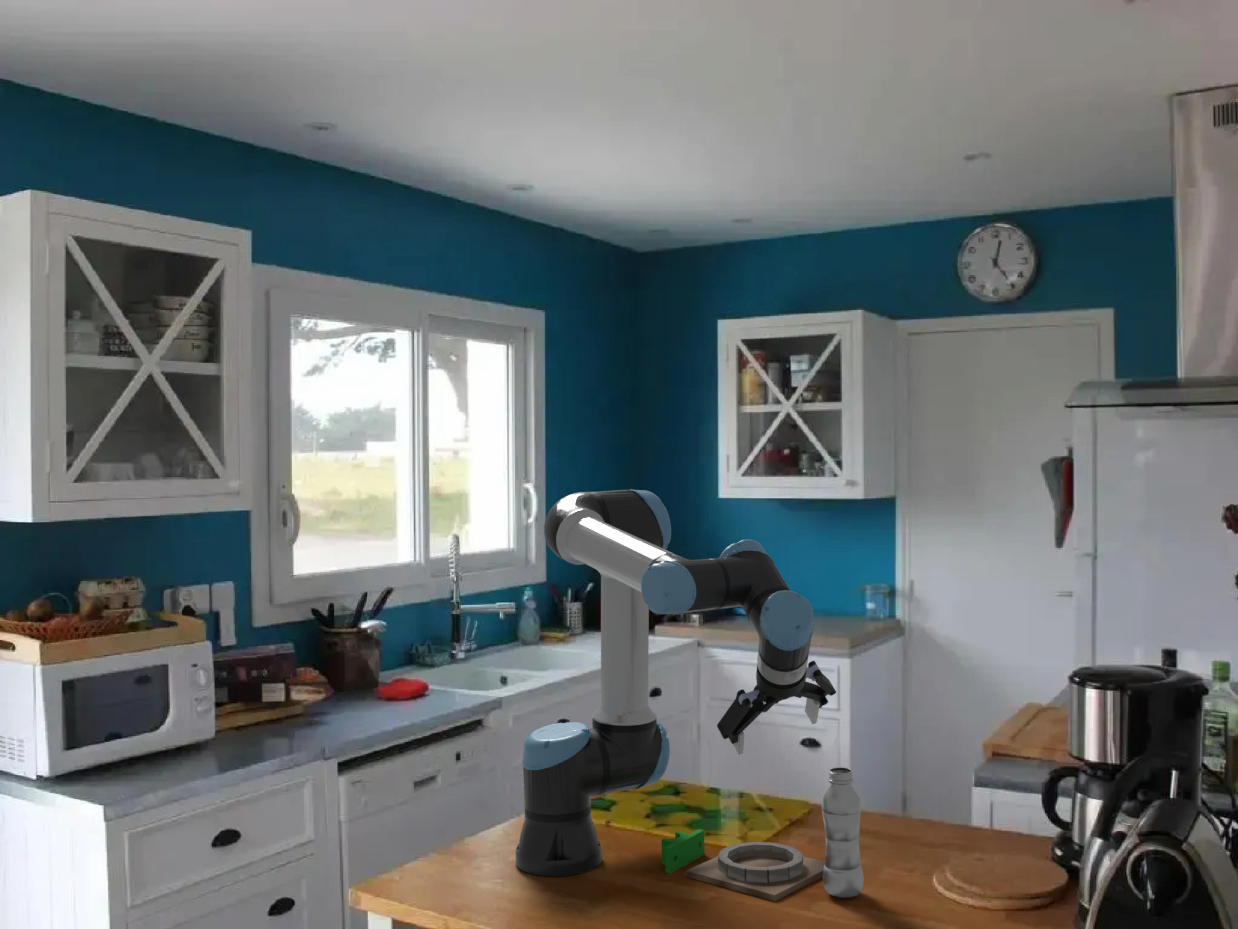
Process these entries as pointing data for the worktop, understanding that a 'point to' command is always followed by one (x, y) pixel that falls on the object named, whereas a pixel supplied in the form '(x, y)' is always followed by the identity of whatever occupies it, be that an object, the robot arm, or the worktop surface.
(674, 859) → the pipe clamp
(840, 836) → the plastic bottle
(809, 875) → the ring board
